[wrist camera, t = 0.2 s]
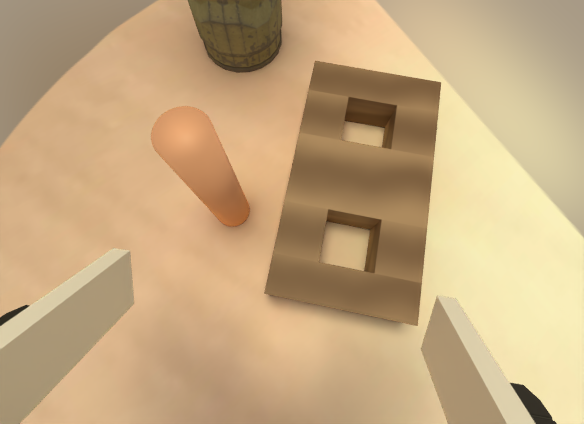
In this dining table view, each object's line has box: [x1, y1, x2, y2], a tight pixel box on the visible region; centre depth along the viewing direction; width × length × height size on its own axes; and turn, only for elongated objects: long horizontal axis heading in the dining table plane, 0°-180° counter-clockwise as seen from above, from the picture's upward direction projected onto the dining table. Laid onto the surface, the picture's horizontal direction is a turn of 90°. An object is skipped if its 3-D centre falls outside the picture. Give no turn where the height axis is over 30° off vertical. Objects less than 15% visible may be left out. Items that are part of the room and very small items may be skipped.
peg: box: [151, 106, 250, 226], centre depth 24 cm, size 3×3×15 cm
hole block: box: [264, 61, 441, 326], centre depth 30 cm, size 22×12×4 cm, turn 169°
